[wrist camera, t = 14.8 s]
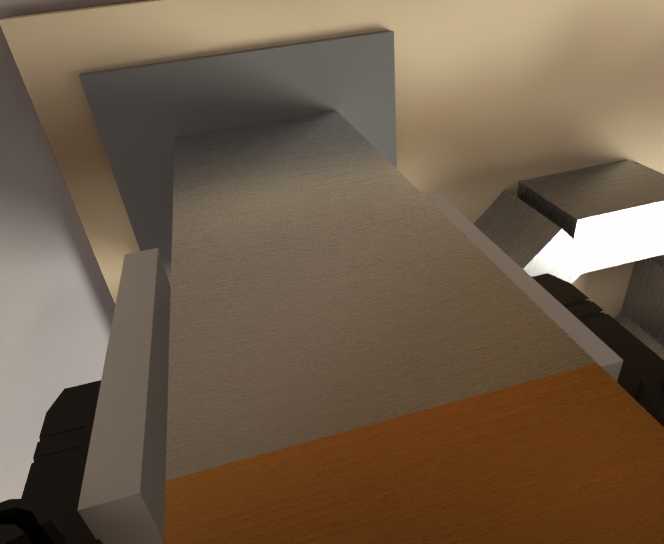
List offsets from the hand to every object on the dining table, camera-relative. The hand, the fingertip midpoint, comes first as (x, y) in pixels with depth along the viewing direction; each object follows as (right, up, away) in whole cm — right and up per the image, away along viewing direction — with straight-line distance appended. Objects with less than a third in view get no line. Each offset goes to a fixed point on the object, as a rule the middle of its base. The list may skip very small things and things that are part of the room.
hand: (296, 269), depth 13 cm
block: (-1, +2, +4) cm, 5 cm away
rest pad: (-1, +3, +4) cm, 5 cm away
